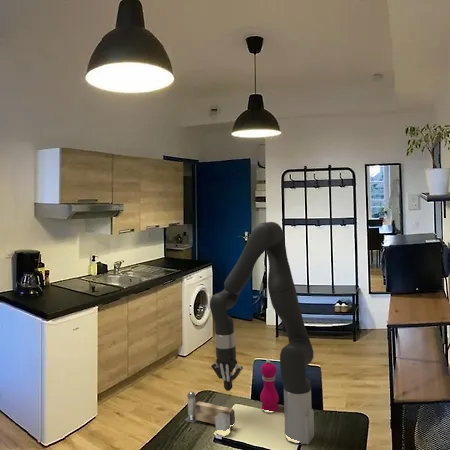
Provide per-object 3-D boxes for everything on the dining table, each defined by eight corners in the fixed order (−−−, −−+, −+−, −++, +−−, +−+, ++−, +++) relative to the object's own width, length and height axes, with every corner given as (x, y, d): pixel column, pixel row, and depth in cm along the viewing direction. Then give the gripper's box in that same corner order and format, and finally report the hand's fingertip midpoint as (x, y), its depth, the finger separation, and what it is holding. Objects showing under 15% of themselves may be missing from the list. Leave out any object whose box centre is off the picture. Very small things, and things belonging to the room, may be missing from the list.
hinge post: (199, 418, 165) (198, 390, 165) (193, 423, 162) (192, 395, 161) (190, 415, 167) (189, 388, 167) (184, 420, 164) (183, 392, 163)
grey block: (230, 432, 155) (230, 414, 154) (225, 437, 151) (225, 419, 151) (221, 429, 157) (220, 411, 156) (215, 434, 153) (215, 416, 153)
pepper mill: (278, 414, 166) (276, 363, 165) (259, 413, 168) (257, 362, 166) (279, 405, 173) (278, 356, 172) (261, 404, 175) (260, 355, 174)
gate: (195, 419, 162) (194, 404, 162) (199, 416, 165) (198, 401, 164) (231, 428, 155) (231, 412, 155) (235, 425, 157) (234, 408, 157)
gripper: (245, 343, 164) (248, 388, 164) (215, 340, 170) (218, 383, 171) (236, 349, 157) (239, 396, 158) (205, 345, 164) (208, 391, 164)
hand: (228, 389), depth 164 cm, fingers closed
